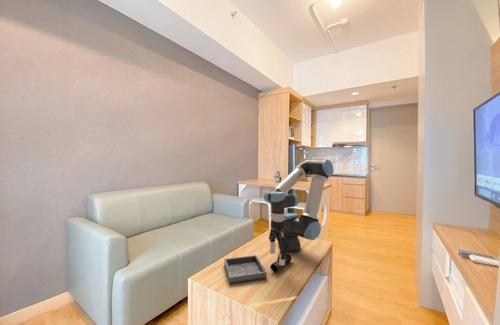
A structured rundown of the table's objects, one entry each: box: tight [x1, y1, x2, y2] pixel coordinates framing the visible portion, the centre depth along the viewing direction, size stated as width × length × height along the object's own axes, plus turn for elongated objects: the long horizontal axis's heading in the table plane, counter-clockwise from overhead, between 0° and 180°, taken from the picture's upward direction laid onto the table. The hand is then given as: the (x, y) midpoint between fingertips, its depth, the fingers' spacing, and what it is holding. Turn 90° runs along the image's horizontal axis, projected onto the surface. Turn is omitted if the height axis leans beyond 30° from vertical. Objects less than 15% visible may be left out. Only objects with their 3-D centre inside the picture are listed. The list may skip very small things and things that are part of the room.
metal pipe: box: [269, 252, 293, 273], centre depth 114 cm, size 18×7×6 cm, turn 141°
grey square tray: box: [223, 254, 268, 286], centre depth 108 cm, size 19×19×4 cm
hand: (277, 258), depth 109 cm, fingers open, 13 cm apart
